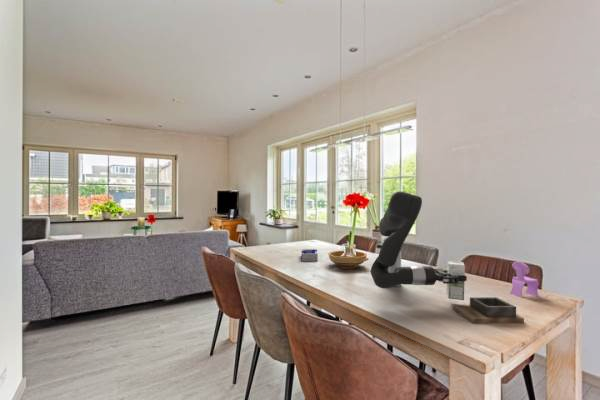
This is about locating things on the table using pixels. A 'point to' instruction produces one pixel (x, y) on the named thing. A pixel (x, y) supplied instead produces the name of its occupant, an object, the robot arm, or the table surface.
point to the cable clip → (310, 253)
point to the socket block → (489, 311)
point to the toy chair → (523, 280)
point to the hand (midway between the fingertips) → (460, 275)
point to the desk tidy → (309, 255)
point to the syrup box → (458, 289)
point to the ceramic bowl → (347, 259)
